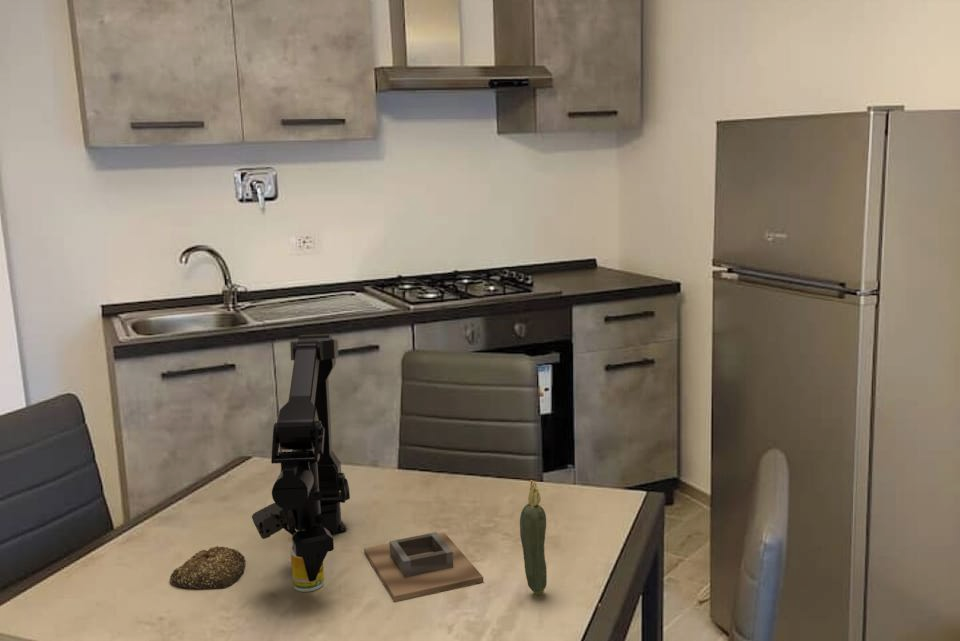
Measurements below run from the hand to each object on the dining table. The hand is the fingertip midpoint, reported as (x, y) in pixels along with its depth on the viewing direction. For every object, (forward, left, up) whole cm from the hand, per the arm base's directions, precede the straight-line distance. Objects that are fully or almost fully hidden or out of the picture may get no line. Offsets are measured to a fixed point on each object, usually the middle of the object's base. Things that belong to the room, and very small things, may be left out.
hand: (307, 571), depth 152 cm
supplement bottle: (0, 0, -3) cm, 3 cm away
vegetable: (+20, +34, -3) cm, 40 cm away
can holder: (+2, +20, -2) cm, 20 cm away
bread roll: (-12, -15, -3) cm, 20 cm away
